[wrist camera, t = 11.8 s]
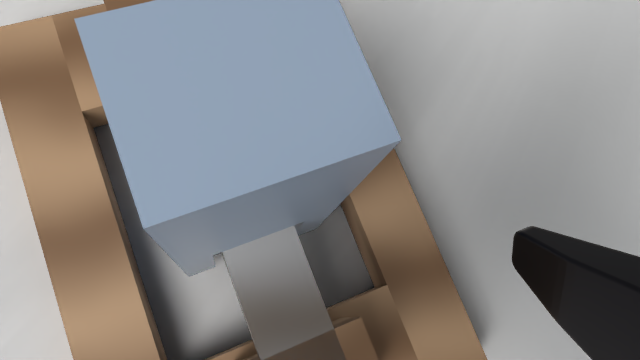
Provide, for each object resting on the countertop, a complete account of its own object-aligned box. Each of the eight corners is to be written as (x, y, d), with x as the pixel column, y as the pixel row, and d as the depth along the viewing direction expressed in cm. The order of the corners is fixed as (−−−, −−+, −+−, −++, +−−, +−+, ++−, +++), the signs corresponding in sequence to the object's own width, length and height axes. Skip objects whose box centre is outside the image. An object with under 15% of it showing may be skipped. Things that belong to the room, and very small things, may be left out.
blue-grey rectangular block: (277, 132, 24) (321, -38, 13) (316, 228, 23) (401, 139, 12) (153, 171, 22) (74, 18, 11) (188, 276, 21) (143, 228, 10)
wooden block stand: (469, 363, 24) (536, 375, 19) (136, 526, 20) (103, 600, 15) (304, -18, 28) (321, -95, 23) (0, 53, 24) (-64, -20, 19)
